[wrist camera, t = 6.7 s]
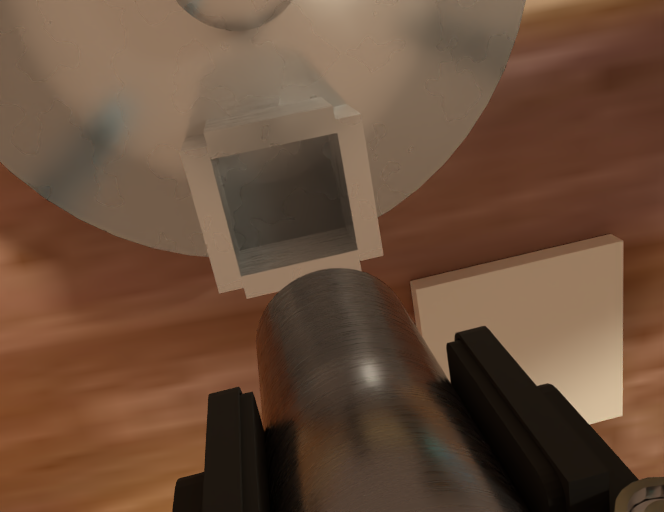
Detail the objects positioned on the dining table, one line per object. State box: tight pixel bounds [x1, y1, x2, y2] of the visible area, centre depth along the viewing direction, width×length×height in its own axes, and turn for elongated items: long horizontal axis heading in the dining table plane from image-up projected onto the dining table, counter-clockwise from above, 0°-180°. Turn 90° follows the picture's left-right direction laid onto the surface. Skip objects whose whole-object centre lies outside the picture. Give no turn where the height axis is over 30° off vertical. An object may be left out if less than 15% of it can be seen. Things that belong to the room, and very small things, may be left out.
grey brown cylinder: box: [256, 268, 530, 512], centre depth 10 cm, size 4×4×10 cm
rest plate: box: [410, 234, 623, 424], centre depth 36 cm, size 12×12×1 cm
